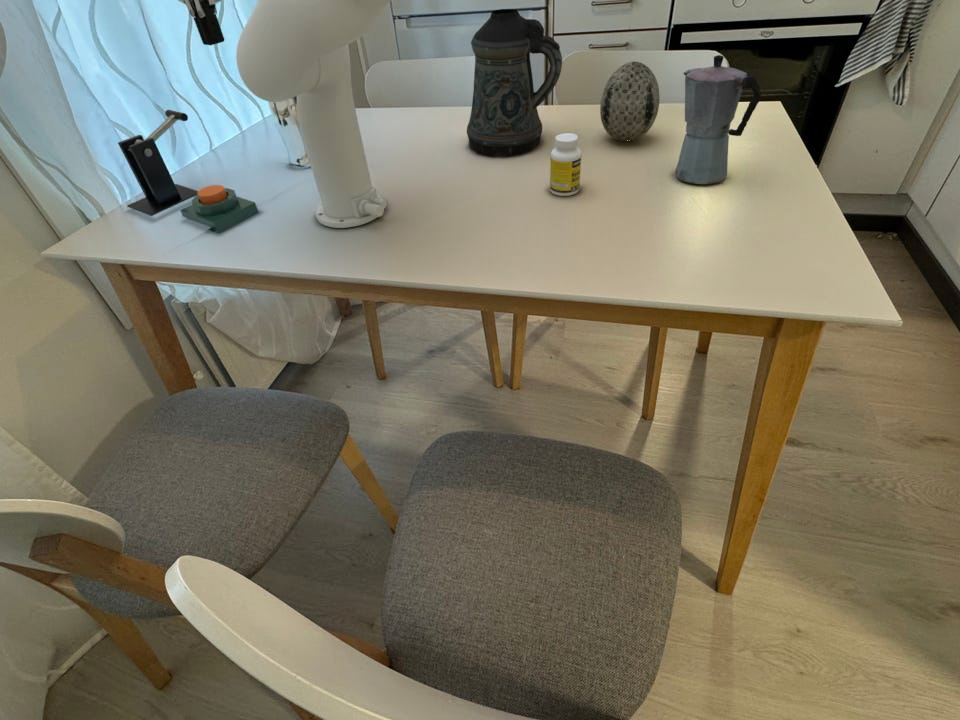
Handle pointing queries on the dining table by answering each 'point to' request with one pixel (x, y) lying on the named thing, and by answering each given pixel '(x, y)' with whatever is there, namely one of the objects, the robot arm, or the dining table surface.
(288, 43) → the robot arm
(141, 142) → the lever bracket
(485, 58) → the beer stein
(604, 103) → the decorative egg
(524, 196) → the dining table surface
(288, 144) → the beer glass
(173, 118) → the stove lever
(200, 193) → the button
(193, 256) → the dining table surface
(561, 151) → the supplement bottle
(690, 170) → the moka pot
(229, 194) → the block
